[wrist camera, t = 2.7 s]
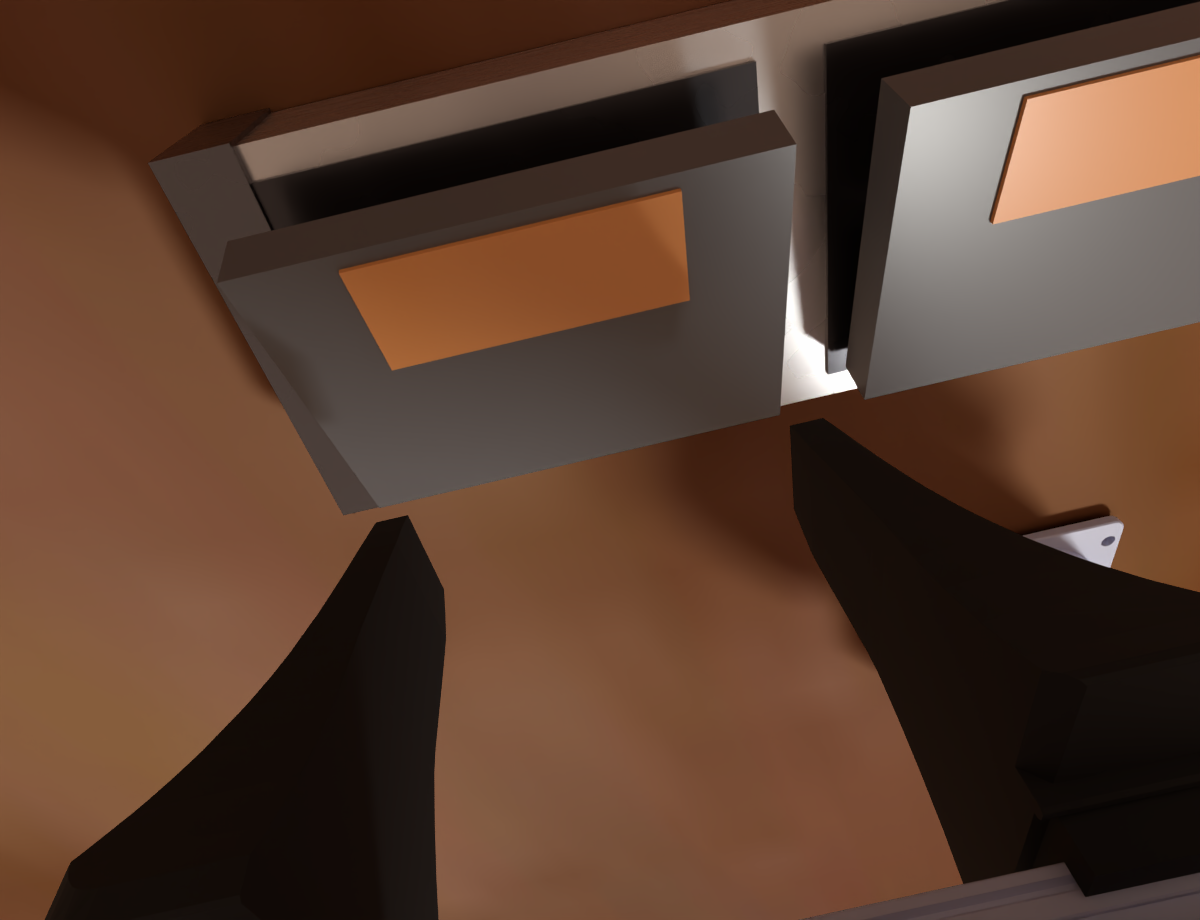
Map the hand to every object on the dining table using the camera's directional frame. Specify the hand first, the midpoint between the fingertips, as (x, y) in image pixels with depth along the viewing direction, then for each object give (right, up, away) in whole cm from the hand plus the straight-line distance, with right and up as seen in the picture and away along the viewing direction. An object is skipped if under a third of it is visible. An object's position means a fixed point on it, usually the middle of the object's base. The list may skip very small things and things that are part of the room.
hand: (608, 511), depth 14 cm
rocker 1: (-1, +4, +2) cm, 5 cm away
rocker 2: (+10, +7, +2) cm, 12 cm away
